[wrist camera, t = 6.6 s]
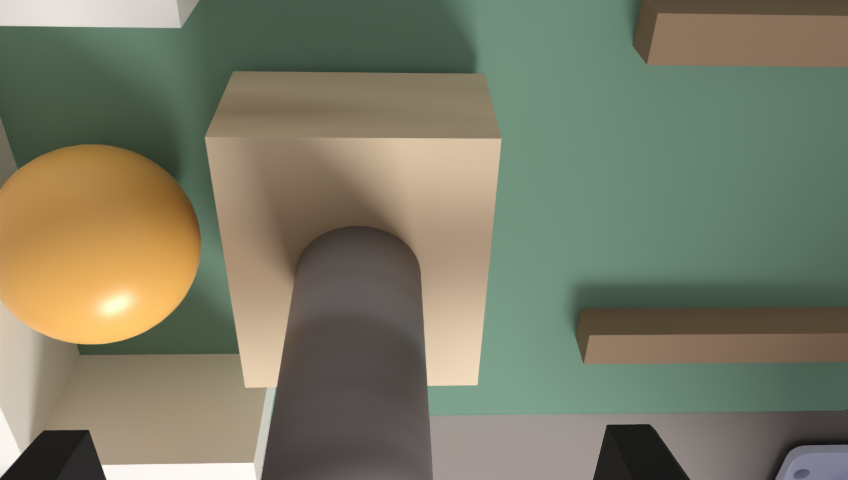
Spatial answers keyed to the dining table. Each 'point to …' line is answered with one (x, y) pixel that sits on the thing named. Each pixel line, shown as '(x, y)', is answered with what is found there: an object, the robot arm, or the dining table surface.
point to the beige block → (355, 256)
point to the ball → (95, 244)
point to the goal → (125, 374)
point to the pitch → (539, 180)
